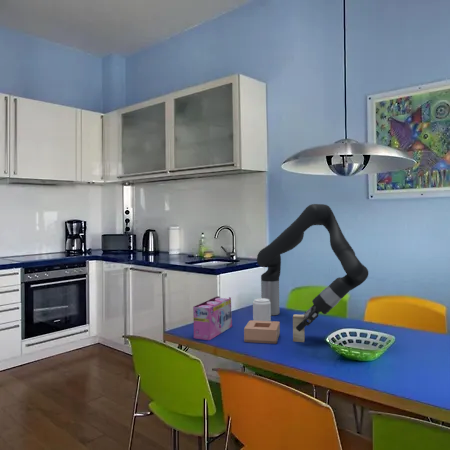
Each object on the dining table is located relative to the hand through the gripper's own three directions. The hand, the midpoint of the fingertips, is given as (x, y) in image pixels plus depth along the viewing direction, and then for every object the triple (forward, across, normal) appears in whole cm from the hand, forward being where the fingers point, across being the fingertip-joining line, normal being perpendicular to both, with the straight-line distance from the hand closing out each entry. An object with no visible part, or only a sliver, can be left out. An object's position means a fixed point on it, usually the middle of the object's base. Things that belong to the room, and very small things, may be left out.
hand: (298, 326), depth 174 cm
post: (+4, 0, +4) cm, 6 cm away
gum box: (+30, -5, -22) cm, 38 cm away
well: (+14, 0, -7) cm, 16 cm away
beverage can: (+17, -19, -8) cm, 27 cm away
